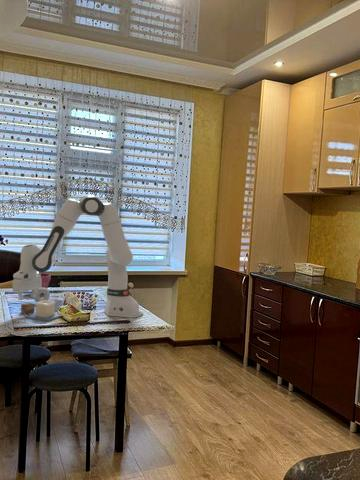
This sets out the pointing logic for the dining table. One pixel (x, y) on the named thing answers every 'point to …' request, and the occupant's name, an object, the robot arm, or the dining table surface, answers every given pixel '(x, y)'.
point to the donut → (39, 291)
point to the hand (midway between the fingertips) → (27, 298)
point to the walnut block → (27, 308)
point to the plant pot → (45, 280)
